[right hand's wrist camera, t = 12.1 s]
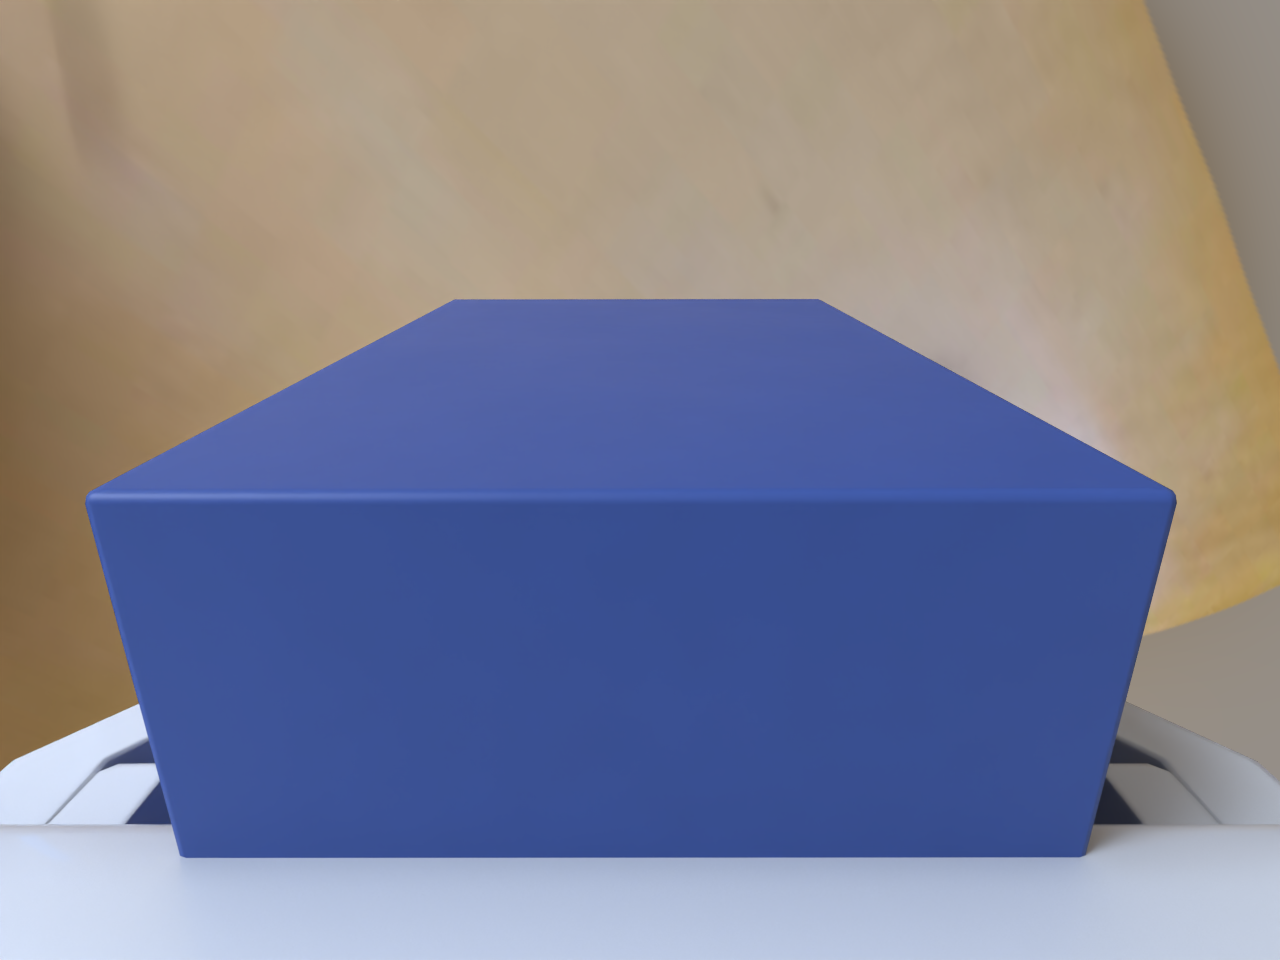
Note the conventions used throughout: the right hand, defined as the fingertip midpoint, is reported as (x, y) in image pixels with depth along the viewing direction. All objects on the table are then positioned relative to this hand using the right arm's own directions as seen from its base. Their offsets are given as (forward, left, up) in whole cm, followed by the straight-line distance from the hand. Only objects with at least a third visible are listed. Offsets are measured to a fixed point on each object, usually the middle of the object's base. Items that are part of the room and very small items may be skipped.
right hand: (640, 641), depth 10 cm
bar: (+7, 0, -3) cm, 8 cm away
